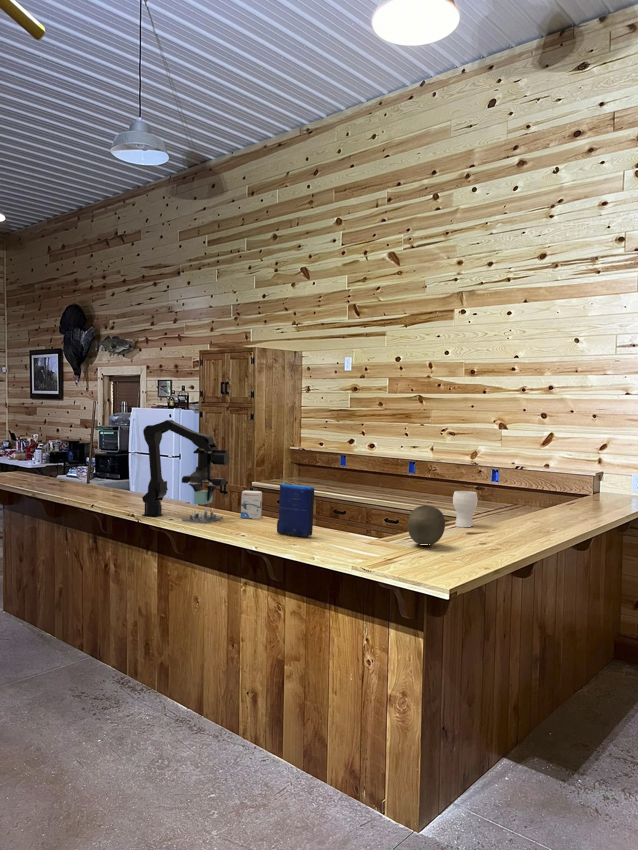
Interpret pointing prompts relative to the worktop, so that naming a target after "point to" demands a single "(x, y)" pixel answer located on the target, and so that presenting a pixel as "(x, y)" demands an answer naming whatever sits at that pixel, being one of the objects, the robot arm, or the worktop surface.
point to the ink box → (251, 504)
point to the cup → (464, 507)
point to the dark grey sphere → (426, 525)
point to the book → (295, 510)
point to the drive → (201, 497)
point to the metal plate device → (203, 517)
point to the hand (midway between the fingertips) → (203, 500)
